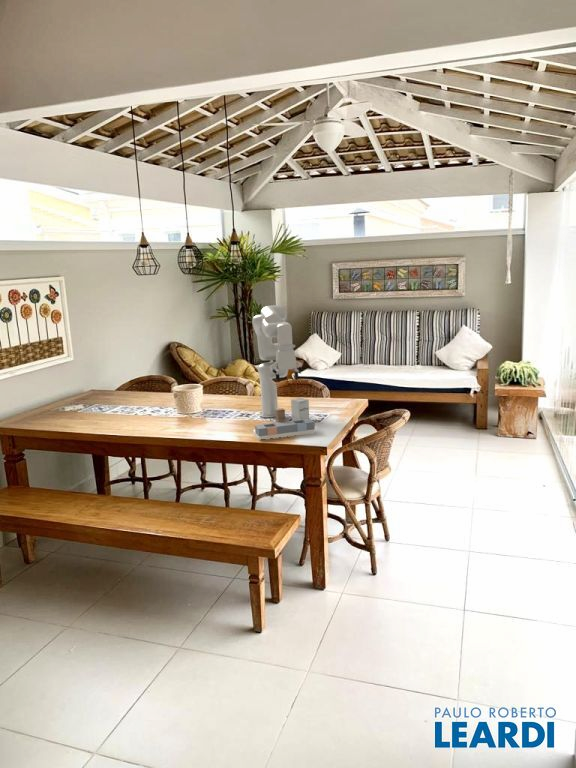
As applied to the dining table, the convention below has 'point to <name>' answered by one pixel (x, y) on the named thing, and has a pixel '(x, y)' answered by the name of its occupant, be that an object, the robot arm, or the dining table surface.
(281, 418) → the walnut plug
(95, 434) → the dining table surface
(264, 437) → the port board
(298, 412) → the supplement box
